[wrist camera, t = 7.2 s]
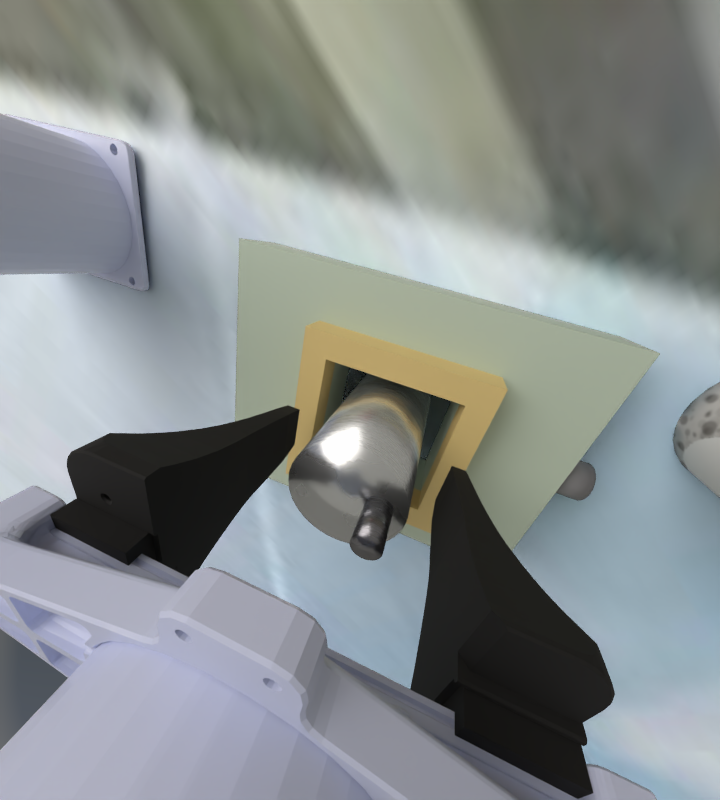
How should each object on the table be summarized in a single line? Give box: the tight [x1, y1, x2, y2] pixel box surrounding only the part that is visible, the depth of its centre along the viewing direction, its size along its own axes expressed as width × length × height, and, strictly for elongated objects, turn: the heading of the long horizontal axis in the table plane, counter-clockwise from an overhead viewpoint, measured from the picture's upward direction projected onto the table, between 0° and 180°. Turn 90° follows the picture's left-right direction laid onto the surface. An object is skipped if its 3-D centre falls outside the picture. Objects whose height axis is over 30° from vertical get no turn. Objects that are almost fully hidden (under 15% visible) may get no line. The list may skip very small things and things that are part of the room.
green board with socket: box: [235, 238, 660, 551], centre depth 16 cm, size 20×14×4 cm
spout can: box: [288, 373, 430, 560], centre depth 13 cm, size 4×4×11 cm
